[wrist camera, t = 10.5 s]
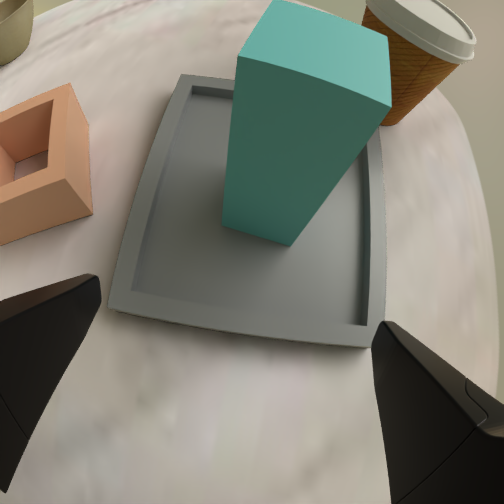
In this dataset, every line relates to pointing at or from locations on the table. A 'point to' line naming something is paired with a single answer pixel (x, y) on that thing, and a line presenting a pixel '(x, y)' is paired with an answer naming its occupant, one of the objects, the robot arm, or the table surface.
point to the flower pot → (14, 28)
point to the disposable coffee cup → (418, 47)
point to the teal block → (299, 116)
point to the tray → (248, 240)
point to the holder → (59, 164)
